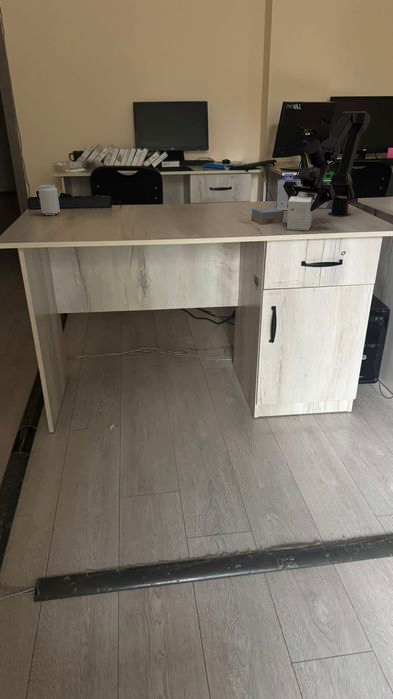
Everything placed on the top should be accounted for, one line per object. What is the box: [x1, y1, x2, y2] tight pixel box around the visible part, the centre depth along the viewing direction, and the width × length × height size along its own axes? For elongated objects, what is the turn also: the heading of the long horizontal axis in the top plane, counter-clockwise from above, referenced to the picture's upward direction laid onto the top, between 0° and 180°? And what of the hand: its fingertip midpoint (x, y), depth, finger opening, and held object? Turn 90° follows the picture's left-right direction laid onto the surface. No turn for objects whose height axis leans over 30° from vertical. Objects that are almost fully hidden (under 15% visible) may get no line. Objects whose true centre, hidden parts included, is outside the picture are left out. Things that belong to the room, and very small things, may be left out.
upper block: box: [251, 206, 285, 219], centre depth 195 cm, size 9×9×2 cm
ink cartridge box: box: [275, 173, 302, 211], centre depth 216 cm, size 10×6×14 cm, turn 87°
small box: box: [286, 196, 313, 231], centre depth 182 cm, size 8×6×10 cm
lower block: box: [250, 214, 284, 226], centre depth 197 cm, size 9×9×2 cm
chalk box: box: [314, 171, 335, 209], centre depth 220 cm, size 9×9×15 cm
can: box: [38, 184, 61, 214], centre depth 213 cm, size 8×8×12 cm
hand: (299, 209), depth 181 cm, fingers open, 9 cm apart
